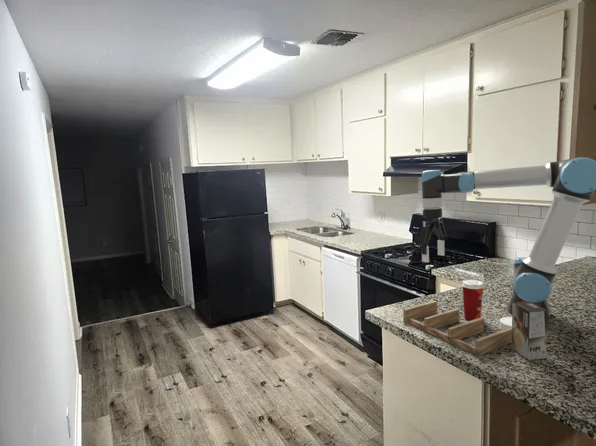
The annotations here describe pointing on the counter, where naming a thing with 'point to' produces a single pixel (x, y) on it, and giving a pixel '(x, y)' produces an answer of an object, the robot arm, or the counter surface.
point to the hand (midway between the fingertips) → (433, 258)
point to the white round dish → (505, 323)
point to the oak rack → (456, 328)
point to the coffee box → (529, 330)
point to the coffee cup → (472, 299)
